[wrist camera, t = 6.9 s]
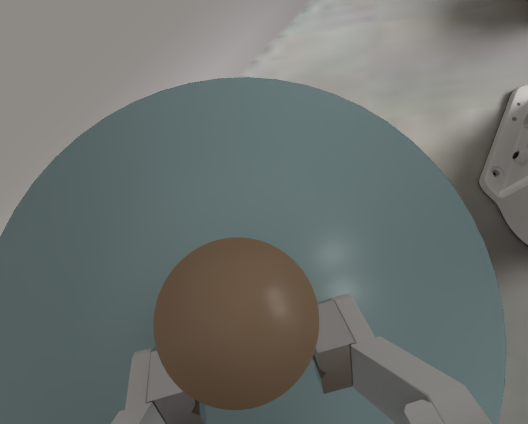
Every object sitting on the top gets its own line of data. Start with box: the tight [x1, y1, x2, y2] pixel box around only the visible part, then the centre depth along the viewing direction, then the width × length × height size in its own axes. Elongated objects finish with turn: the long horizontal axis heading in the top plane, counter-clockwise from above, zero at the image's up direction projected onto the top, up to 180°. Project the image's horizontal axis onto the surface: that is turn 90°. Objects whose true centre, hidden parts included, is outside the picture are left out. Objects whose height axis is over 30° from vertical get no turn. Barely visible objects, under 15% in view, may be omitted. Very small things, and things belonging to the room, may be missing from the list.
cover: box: [0, 77, 506, 424], centre depth 11 cm, size 20×20×8 cm
